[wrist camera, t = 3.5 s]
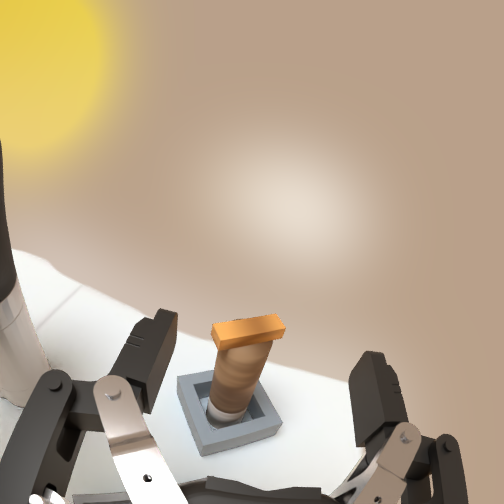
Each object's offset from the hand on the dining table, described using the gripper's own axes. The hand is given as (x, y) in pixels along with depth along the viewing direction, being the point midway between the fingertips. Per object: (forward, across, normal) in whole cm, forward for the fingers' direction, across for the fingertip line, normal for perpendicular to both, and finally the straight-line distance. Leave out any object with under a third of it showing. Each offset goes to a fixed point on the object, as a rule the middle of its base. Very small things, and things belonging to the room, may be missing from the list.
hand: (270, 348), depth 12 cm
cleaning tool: (+11, 0, +27) cm, 29 cm away
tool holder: (+11, 0, +27) cm, 29 cm away
